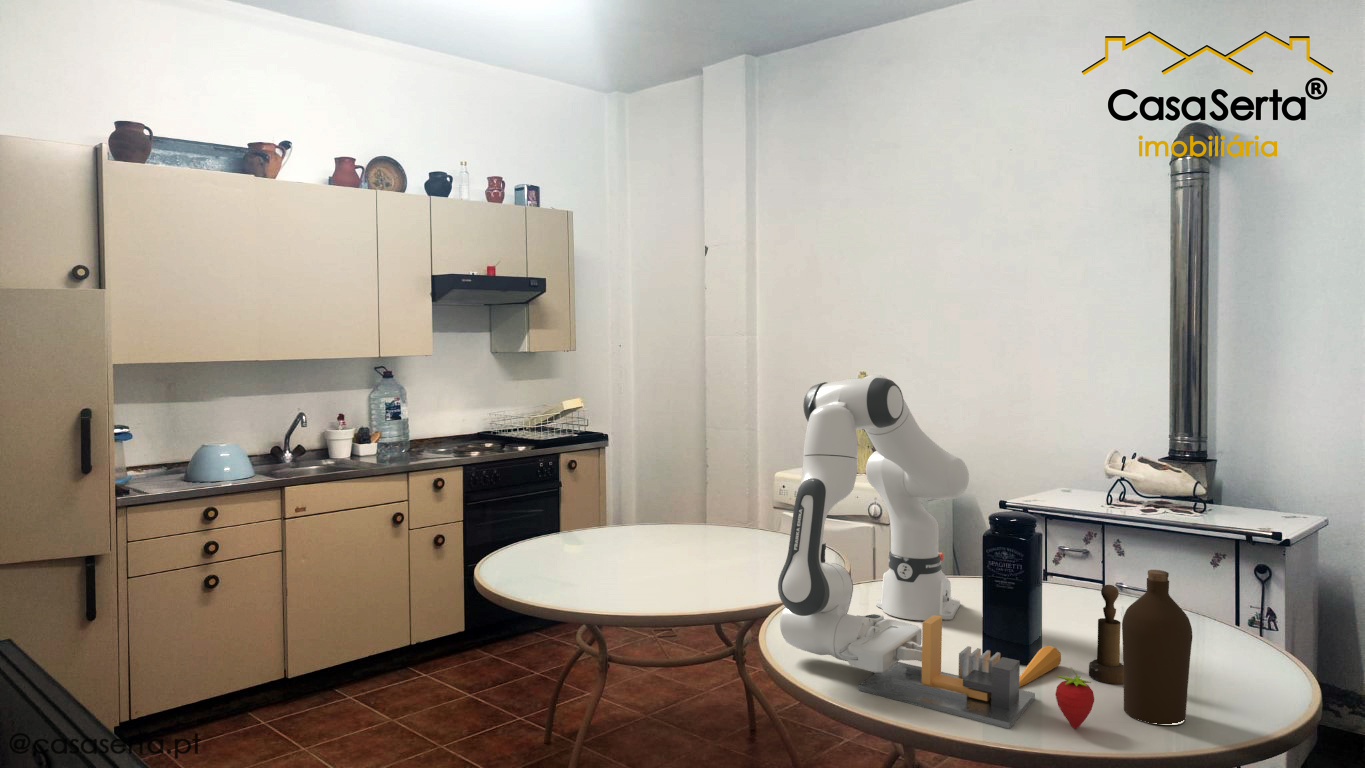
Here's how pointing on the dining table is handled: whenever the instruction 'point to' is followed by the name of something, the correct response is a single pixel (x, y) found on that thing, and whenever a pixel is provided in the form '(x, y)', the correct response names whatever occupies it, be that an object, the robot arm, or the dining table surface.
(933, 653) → the orange l-shaped block
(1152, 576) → the olive oil
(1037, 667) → the carrot
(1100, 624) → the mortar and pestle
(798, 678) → the dining table surface
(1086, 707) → the strawberry
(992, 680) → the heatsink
